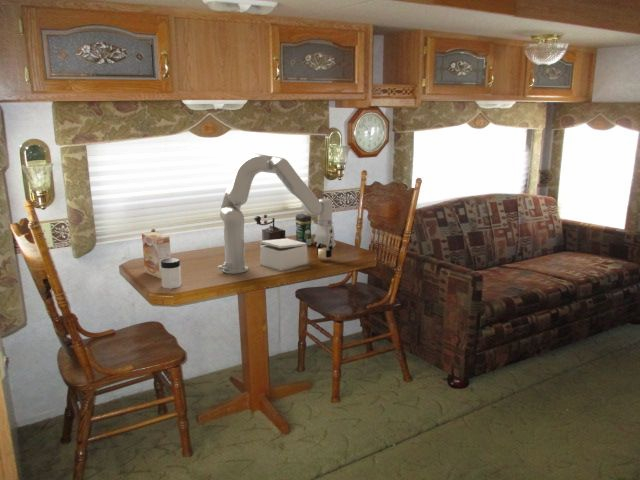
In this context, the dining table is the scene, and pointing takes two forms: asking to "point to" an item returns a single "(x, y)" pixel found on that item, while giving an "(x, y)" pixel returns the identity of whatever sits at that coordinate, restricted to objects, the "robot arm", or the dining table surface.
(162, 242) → the coffeecake box
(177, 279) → the jar
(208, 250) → the dining table surface
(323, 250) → the beige egg-shaped stone
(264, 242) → the box lid
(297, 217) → the coffee jar
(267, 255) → the carton
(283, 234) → the brown coffee grinder
